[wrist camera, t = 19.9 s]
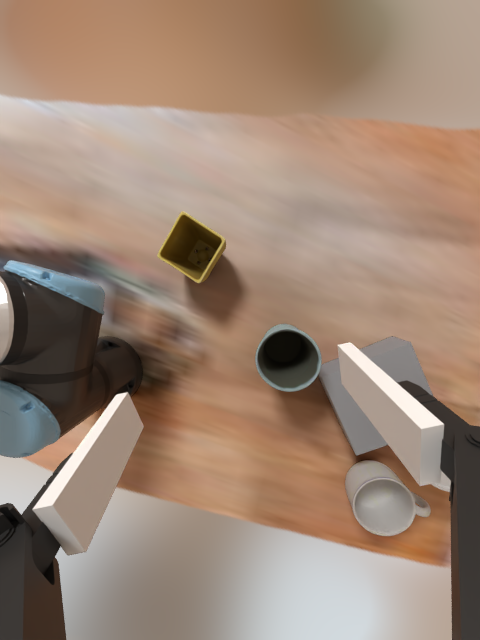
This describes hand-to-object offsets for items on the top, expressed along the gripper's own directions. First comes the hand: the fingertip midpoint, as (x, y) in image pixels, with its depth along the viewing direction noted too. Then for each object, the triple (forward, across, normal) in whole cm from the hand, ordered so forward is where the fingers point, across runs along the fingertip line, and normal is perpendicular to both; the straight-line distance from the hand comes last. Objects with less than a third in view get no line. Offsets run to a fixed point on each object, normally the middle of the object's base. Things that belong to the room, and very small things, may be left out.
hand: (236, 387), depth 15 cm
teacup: (+23, +20, -44) cm, 54 cm away
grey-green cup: (+32, +7, -14) cm, 36 cm away
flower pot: (+38, -4, +6) cm, 39 cm away
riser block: (+28, +22, -26) cm, 43 cm away
